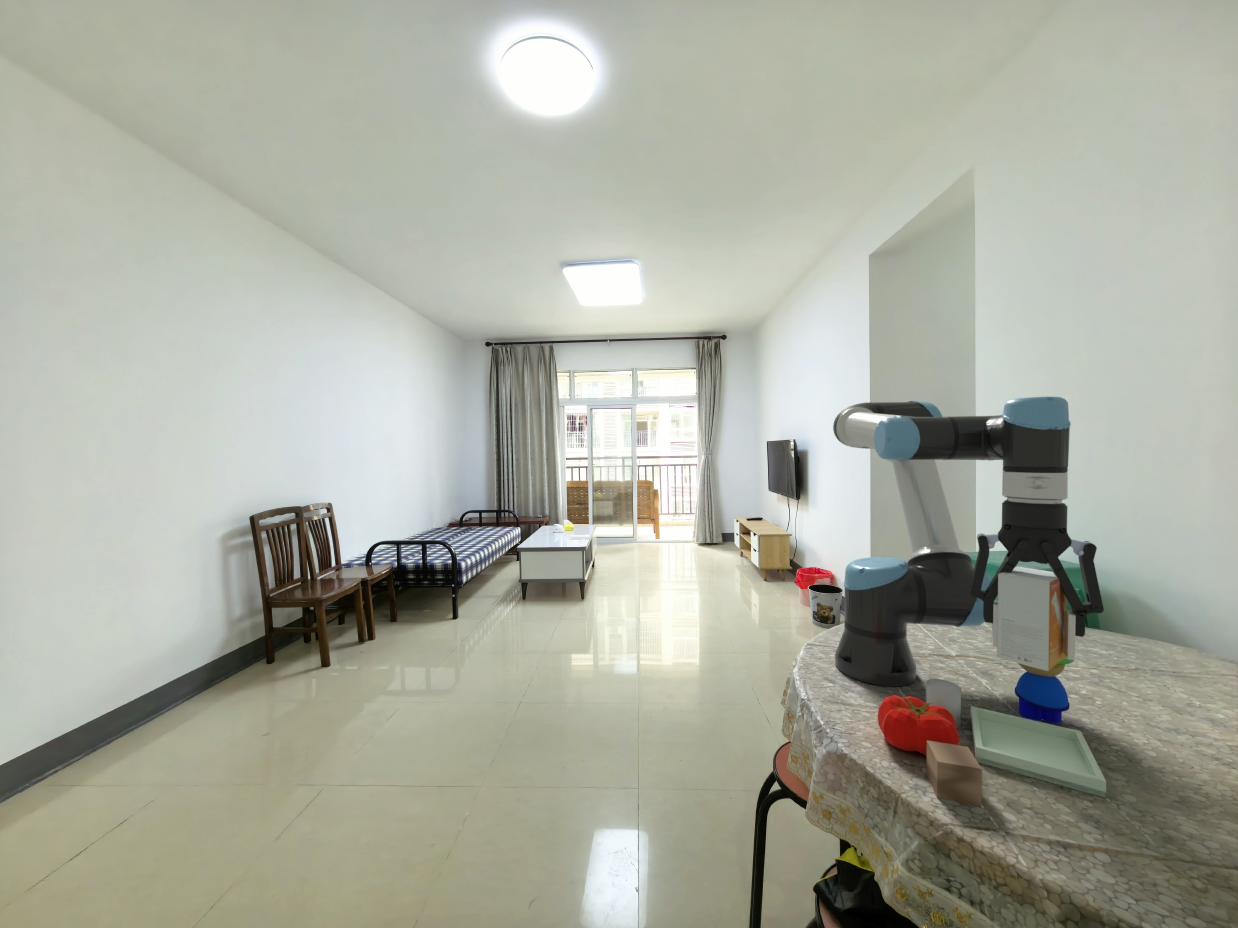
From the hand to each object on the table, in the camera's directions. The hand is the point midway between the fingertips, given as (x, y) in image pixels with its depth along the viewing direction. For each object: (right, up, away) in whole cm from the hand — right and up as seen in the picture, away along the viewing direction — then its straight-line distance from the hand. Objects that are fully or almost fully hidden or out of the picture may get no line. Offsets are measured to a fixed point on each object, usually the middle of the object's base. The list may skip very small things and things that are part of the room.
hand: (1031, 649), depth 74 cm
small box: (0, -2, 0) cm, 2 cm away
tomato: (-16, -16, +2) cm, 23 cm away
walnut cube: (-17, -16, -8) cm, 25 cm away
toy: (+11, -16, +11) cm, 22 cm away
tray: (0, -16, 0) cm, 16 cm away
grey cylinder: (-7, -16, +10) cm, 20 cm away
